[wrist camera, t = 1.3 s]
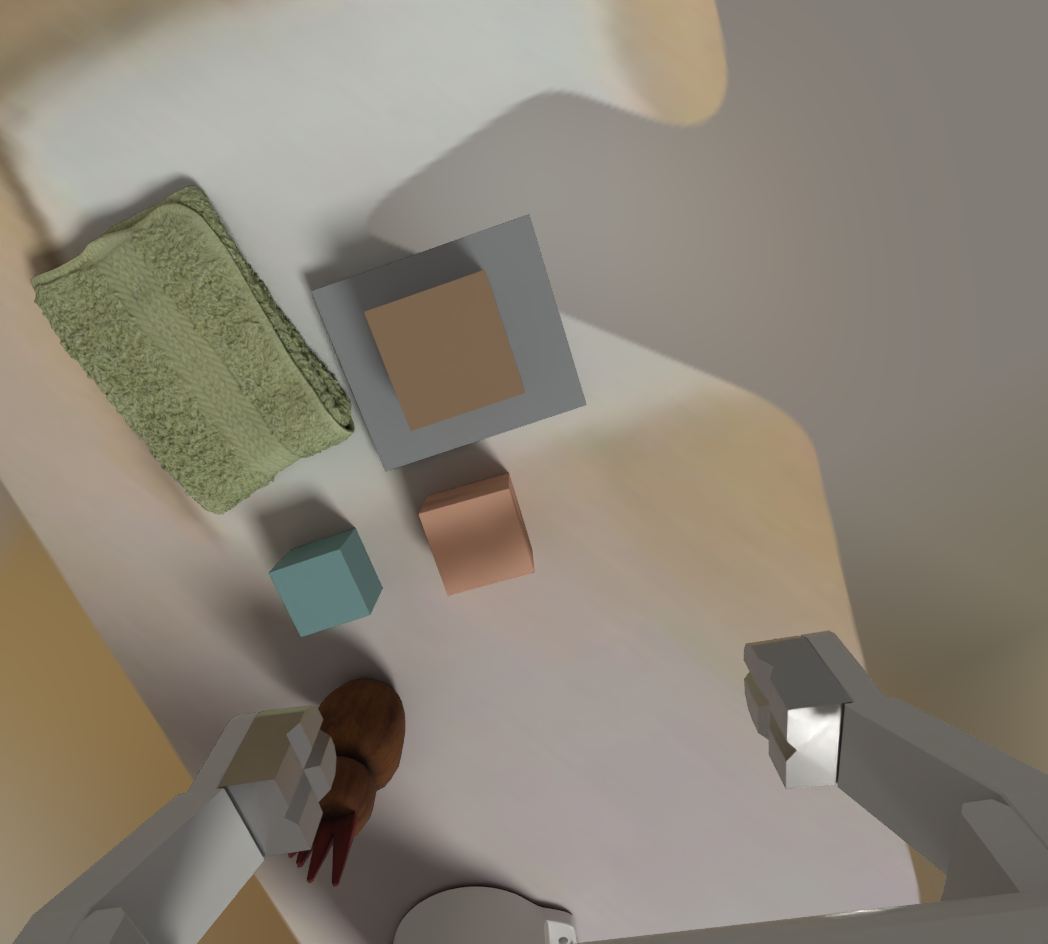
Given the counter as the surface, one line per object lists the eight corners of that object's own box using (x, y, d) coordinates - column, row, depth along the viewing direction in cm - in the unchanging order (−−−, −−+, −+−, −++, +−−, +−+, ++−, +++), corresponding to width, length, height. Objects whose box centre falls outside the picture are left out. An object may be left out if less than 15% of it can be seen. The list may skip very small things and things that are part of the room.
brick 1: (383, 587, 41) (370, 614, 37) (320, 607, 41) (301, 637, 37) (356, 527, 39) (339, 549, 36) (291, 548, 40) (268, 573, 36)
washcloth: (203, 177, 34) (172, 163, 30) (372, 422, 38) (360, 431, 35) (40, 293, 35) (-5, 291, 32) (220, 517, 39) (195, 534, 36)
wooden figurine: (418, 674, 43) (372, 855, 28) (408, 736, 44) (359, 939, 29) (329, 661, 42) (236, 838, 28) (322, 724, 43) (229, 924, 29)
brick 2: (532, 548, 40) (534, 572, 36) (453, 569, 41) (447, 595, 37) (508, 472, 39) (508, 488, 35) (427, 495, 39) (418, 514, 35)
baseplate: (583, 401, 37) (595, 414, 32) (390, 465, 38) (370, 488, 33) (528, 218, 34) (531, 199, 29) (319, 292, 35) (285, 287, 30)
